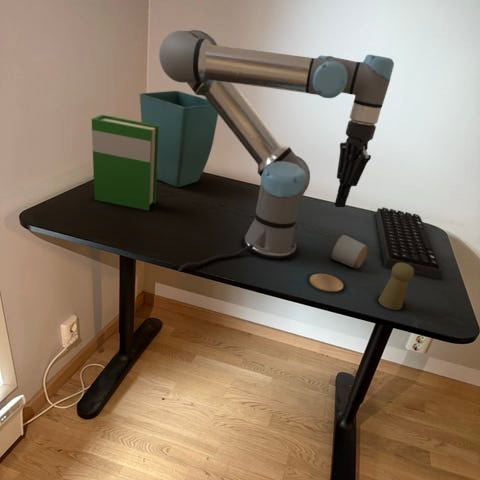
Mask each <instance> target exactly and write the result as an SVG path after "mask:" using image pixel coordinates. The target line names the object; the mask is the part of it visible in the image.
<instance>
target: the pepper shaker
mask: <svg viewBox="0 0 480 480" xmlns="http://www.w3.org/2000/svg"><path fill="white" fill-rule="evenodd" d="M414 274H415V273H414V269H413V267H412V266H410V265H408V264H406V263H396V264H395V265H394V266H393V268H391V276H390V278H389V280H388V281H387V283H386V285H385V287H384V289H383V291H382V292H381V294H380V296H379V298H378V303H379V304H380V305H381V306H383V307H384V308H387V309H389V310H394V311H397V310H401V309H402V308H403V306H404V305H403V304H404V301H405V296H406V292H407V288H408V285H409V281H410V280H412V278H413V277H414Z"/></svg>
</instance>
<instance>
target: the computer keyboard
mask: <svg viewBox="0 0 480 480" xmlns="http://www.w3.org/2000/svg"><path fill="white" fill-rule="evenodd" d="M375 218H376V225H377V229H378V235H379V243H380V247H381V254H382V258H383V259H382V260H383V265H384V268H388V269H392V268H393V266H394V265H395V264H396V263H406V264H408V265H410V266H412V267H413V269H414V274H415V275H421V276H425V277H429V278H434V279H438V280H439V279H440V276H441V274H442V272H443V269H442V267H441V264H440V262H439V259H438V257H437V254H436V252H435V250H434V247H433V245H432V242H431V240H430V236H429V235H428V232H427V230H426V227H425V225H424V222H423V220H422V217H421V216H420V215H419V214H416V213H411V212H407V211H405V212H404V211H402V210H399V209H398V210H396V209H392V208H390V209H389V208H387V207H385V206H384V207H383V206H382V208H380V207H377V210H376V213H375Z"/></svg>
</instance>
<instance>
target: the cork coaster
mask: <svg viewBox="0 0 480 480" xmlns="http://www.w3.org/2000/svg"><path fill="white" fill-rule="evenodd" d="M309 283H310V284H311V285H312V286H313V287H314V288H316V289H317V290H320V291H323V292H326V293H338V292H339V293H340V291H342V290H343V289H344V283H343V281H342V280H340V279H339V278H337V277H336V276H333V275H331V274H327V273H314V274H312V275H310V277H309Z"/></svg>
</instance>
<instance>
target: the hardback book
mask: <svg viewBox="0 0 480 480" xmlns="http://www.w3.org/2000/svg"><path fill="white" fill-rule="evenodd" d="M158 138H159V126H158V125H153V124H148V123H143V122H141V121H139V120H138V121H137V120H132V119H127V118H121V117H117V116H111V115H106V114H100V115H97V116H96V117H95V116H94V117H93V118H91V140H92V141H91V142H92V163H93V164H92V167H93V168H92V170H93V193H94V195H93V196H94V198H93V199H94V201H99V202H104V203H109V204H114V205H118V206H123V207H129V208H133V209H138V210H144V211H150V209H151V208H150V207H151V206H150V205H151V204H153V205H155V204H156V203H157V184H158V183H157V181H158V179H157V161H158Z"/></svg>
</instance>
